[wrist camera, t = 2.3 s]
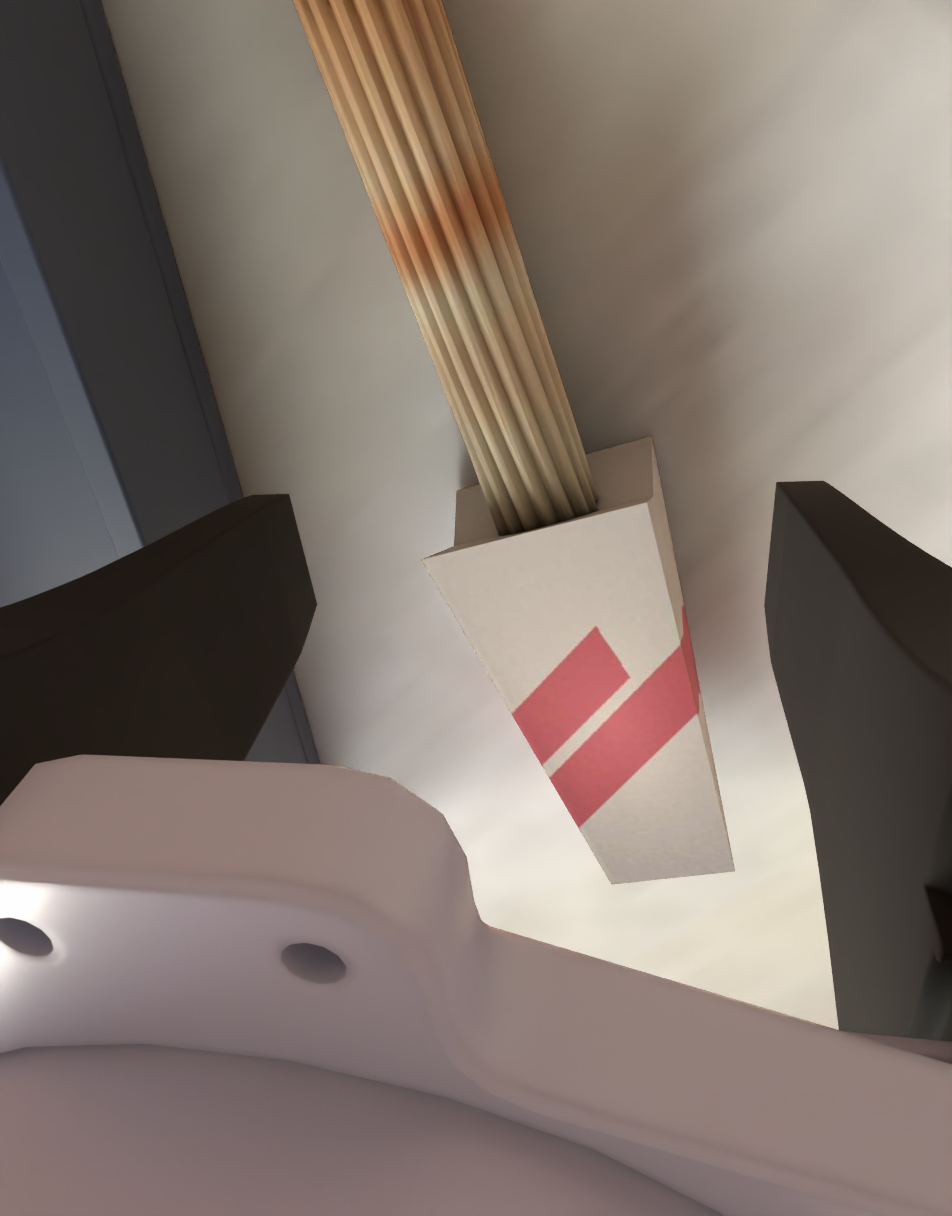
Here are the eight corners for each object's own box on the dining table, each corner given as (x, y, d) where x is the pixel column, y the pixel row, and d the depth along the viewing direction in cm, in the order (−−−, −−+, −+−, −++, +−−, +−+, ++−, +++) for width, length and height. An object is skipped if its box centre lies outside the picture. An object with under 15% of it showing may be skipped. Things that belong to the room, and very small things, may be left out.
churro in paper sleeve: (582, 940, 18) (87, -227, 9) (591, 845, 21) (199, -168, 12) (766, 927, 17) (396, -434, 8) (753, 828, 19) (454, -322, 10)
